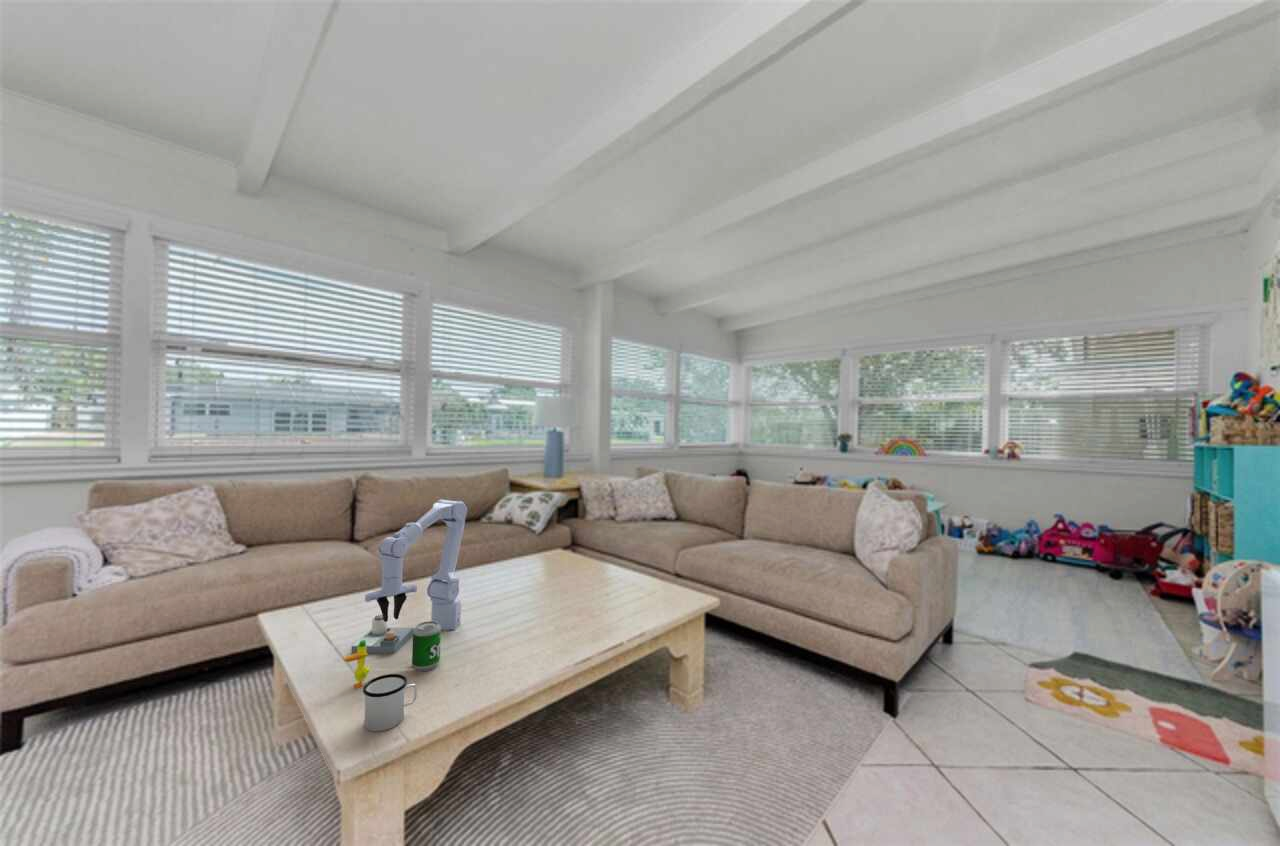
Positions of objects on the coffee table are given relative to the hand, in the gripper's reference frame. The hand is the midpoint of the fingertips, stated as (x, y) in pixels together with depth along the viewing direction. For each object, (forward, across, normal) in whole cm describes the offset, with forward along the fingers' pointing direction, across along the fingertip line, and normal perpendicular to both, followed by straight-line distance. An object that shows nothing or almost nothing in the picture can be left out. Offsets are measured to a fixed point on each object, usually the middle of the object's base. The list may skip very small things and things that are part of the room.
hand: (390, 619), depth 151 cm
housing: (+10, 0, -6) cm, 12 cm away
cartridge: (+10, 0, -11) cm, 15 cm away
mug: (+10, +11, +37) cm, 40 cm away
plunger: (+6, 0, 0) cm, 6 cm away
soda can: (+10, -5, +17) cm, 20 cm away
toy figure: (+10, +13, +16) cm, 23 cm away
